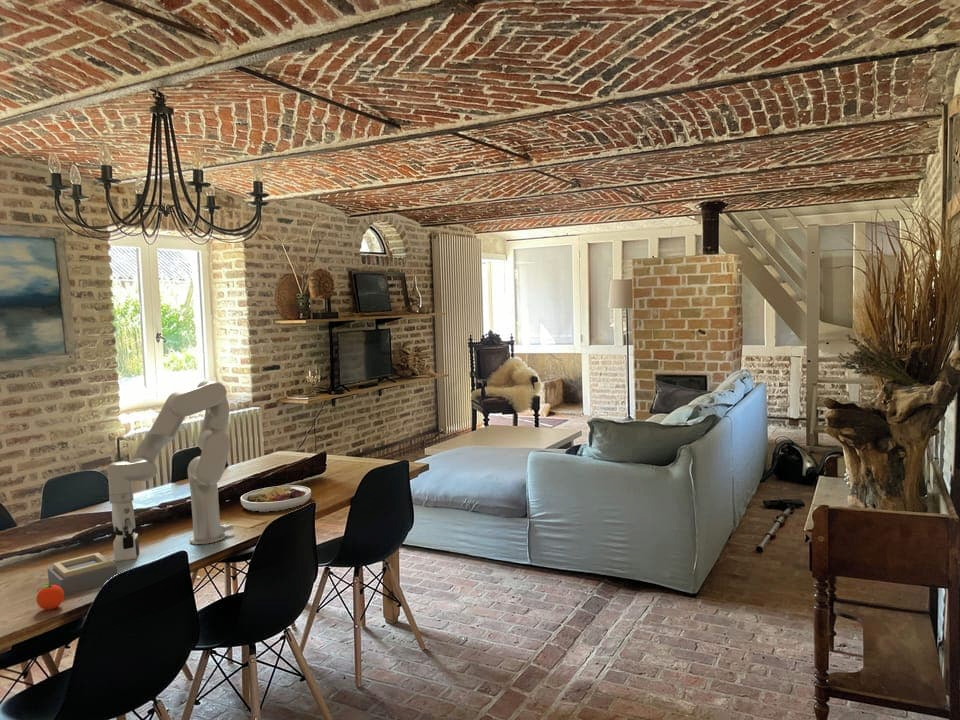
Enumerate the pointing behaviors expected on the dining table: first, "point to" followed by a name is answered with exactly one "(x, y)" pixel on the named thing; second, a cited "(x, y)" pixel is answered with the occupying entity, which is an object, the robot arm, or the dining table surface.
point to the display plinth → (81, 573)
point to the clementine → (50, 597)
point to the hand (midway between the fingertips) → (123, 545)
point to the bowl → (275, 498)
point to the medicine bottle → (125, 553)
